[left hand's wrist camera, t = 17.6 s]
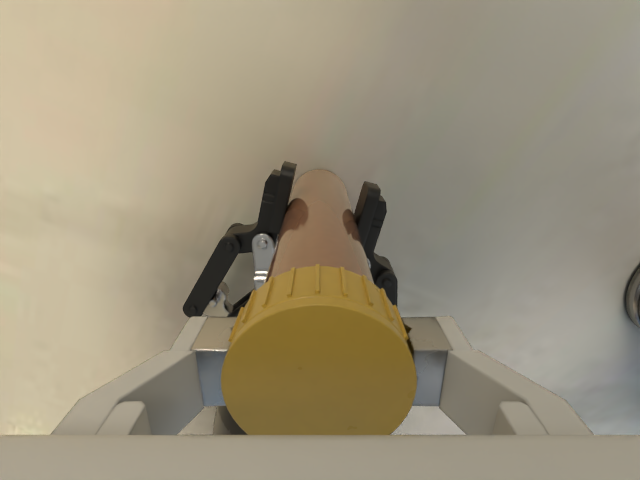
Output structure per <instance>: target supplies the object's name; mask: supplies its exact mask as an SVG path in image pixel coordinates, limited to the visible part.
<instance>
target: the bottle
mask: <svg viewBox="0 0 640 480" xmlns="http://www.w3.org/2000/svg"><path fill="white" fill-rule="evenodd" d="M316 264H320V266H329V267H335V268H340V267H344V269H345V270H348V271H351V272H353V273H356V274H358V275H360V276H363V275H365V276H367V280H369V281H371V282H372V283H373V284H375V283H374V280H373V277H372V273H371V270H370V267H369V263H368V260H367V257H366V254H365V250H364V247H363V244H362V240H361V237H360V234H359V231H358V227H357V224H356V221H355V217H354V214H353V211H352V208H351V204H350V201H349V198H348V194H347V191H346V188H345V185H344V183H343V182H342V180H341V179H340V178H339V177H338V176H337V175H336V174H334V173H332V172H330V171H327V170H322V169H316V170H311V171H309V172H306V173H305V174H303V175H302V176H301V177H300V178H299V179H298V180H297V181H296V183H295V185H294V187H293V190H292V193H291V197H290V200H289V203H288V207H287V210H286V213H285V216H284V219H283V222H282V226H281V229H280V232H279V235H278V239H277V242H276V245H275V248H274V252H273V255H272V258H271V261H270V265H269V268H268V271H267V274H266V277H265V281H264V284H265V283H266V282H268V280H269V278H270V277H271V276H273V277H276V276H278V275H280V274H282V273H285V272H288V271H291V268H293V267H295V269H298V268H303V267H310V266H316ZM264 284H263V285H264Z"/></svg>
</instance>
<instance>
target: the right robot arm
mask: <svg viewBox="0 0 640 480" xmlns="http://www.w3.org/2000/svg"><path fill="white" fill-rule="evenodd" d="M296 165H297V164H294V163H290V162H286V161H285V162H284V163H283V165H282V168H281V171H278V170H273V172H272V173H271V175H270V176H269V178H268V179H267V181H266V182H265V187H264V193H263V197H262V203H261V208H260V213H259V218H258V222H257V223H255V224H252V225H243V224H240V223H235V224H233V225H231V226H230V228H229V229H228V231H227V232H226V234H225V236H224V237H222V239H221V240H220V242H219V243H218V245H217V247H216V249H215V251H214V252H213V254H212V256H211V258H210V259H209V261H208V263H207V265H206V267H205V268H204V270H203V272H202V274H201V275H200V277H199V279H198V281H197V283H196V284H195V286H194V288H193V290H192V291H191V293H190V295H189V297H188V299H187V300H186V302H185V304H184V306H183V311H184V313H185V315H187V316H188V317H193V316H201V315H202V314H205V315H207V316H209V317H210V316H211V317H237V316H238V314H239V311H240V309H241V307H243V308H244V307H245V305H246V304H247V302H248V301H249V298H250V296H251V293H252V291H253V290H255V291H257V290H258V289H259V288H260V287H261V286H262V285H263V284H264V281H265V277H266V274H267V271H268V268H269V265H270V261H271V258H272V255H273V252H274V248H275V245H276V242H277V239H278V235H279V232H280V229H281V226H282V222H283V219H284V216H285V213H286V210H287V207H288V202H289V198H290V193H291V189H292V184H293V179H294V175H295V170H296ZM386 212H387V211H386V202H385V200H384V199H383V197H382V196H380V188H379V187H378V185H377V184H374V183H370V182H366V181H365V182H364V184H363V186H362V189H361V193H360V196H359V200H358V203H357V206H356V210H355V213H354V217H355V221H356V224H357V227H358V231H359V234H360V237H361V240H362V244H363V247H364V250H365V254H366V257H367V260H368V263H369V267H370V270H371V273H372V277H373V280H374V283H375V285H376V286H377V287H378V288H379V289H381V288H383V289H384V290H385V293H386V296H387V297H388V299H389V300H390V302H391V303H392V305H396V306H397V279H396V276H395V274H394V272H393V269H392V267H391V265H390V263H389V261H388V259H387V258H385V257H381V256H378V255H377V254H375V253H374V249H375V246H376V243H377V240H378V236H379V233H380V230H381V227H382V224H383V221H384V218H385V215H386ZM248 252H253V259H254V269H255V274H254V286H255V288H254V289H253V290H252V291H251V292H249V293H248V294H247V295H246V296H244V297H243V298H242V299H241V300H239V301H238V302H237V303H236V304H234V305H231V304H230V303H229V301H228V294H229V288H228V286H227V285H226V283H225V282H222V280H223V278H224V277H225V275H226V273H227V272H228V270H229V268H230V266H231V265H232V263H233V261H234V260H235V258H236V256H237V255H238V253H248ZM626 308H627V312H628V315H629V317H630V318H631V320H632V321H633V323H634V324H635V325H636V326H637V327H639V328H640V267H639V269H638V270H637V271H636V273H635V274H634V276H633V278H632V280H631V282H630V284H629V287H628V290H627V295H626ZM213 435H248V434H247V433H246V432H245V431H244V430H243V429H241V428H240V427H239V425H238V424H237V423H236V422H235V420H234V419H233V418H232V416H231V414H230V413H229V411H228V409H227V407H226V406H217V410H216V415H215V421H214V428H213Z"/></svg>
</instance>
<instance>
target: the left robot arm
mask: <svg viewBox="0 0 640 480" xmlns="http://www.w3.org/2000/svg"><path fill="white" fill-rule="evenodd" d="M236 319H237V317H211V316H210V317H208V316H193V317H190V318H189V319H188V321H187V323H186V324H185V326H184V328H183V329H182V331H181V332H180V334H179V336H178V337H177V339H176V341H175V342H174V344H173V345H172V347H171V349H170V350H168V351H162V352H161V353H159V354H157V355H156V356H154V357H152V358H150V359H149V360H147V361H145V362H143V363H142V364H140V365H138V366H136V367H135V368H133V369H131V370H129V371H128V372H126V373H124V374H123V375H121V376H119V377H117V378H116V379H114V380H112V381H110V382H109V383H107V384H105V385H103V386H102V387H100V388H98V389H96V390H95V391H93V392H91V393H90V394H88V395H86V396H84V397H83V398H81V399H79V400H78V401H77V403H76V404H75V405H74V406H73V407H72V409H71V410H70V411H69V412H68V414H67V415H66V416H65V417H64V418H63V420H62V421H61V422H60V423H59V425H58V426H57V427H56V428H55V429H54V431H53V432H52V433H51V434H50V435H0V480H640V435H594V434H593V433H592V431H591V430H590V429H589V428H588V427H587V425H586V424H585V423H584V422H583V421H582V419H581V418H580V417H579V416H578V415H577V413H576V412H575V411H574V410H573V408H572V407H571V406H570V405H569V404H568V402H567V401H566V400H565V399H563V398H561V397H559V396H558V395H556V394H554V393H552V392H551V391H549V390H547V389H545V388H544V387H542V386H540V385H538V384H537V383H535V382H533V381H531V380H530V379H528V378H526V377H524V376H523V375H521V374H519V373H517V372H516V371H514V370H512V369H510V368H509V367H507V366H505V365H503V364H502V363H500V362H498V361H496V360H495V359H493V358H491V357H489V356H488V355H486V354H484V353H482V352H481V351H475V350H473V348H472V347H471V345H470V344H469V342H468V341H467V339H466V337H465V336H464V334H463V333H462V331H461V330H460V328H459V326H458V325H457V323H456V322H455V320H454V319H453V317H451V316H440V317H408V318H401V319H402V322H403V325H404V327H405V330H406V333H407V335H408V338H409V339H407V344H408V346H409V349H410V352H411V355H412V357H413V360H414V363H415V367H416V373H417V388H416V394H415V398H414V401H413V404H412V406H439V408H440V409H441V410H442V411H443V412H444V413H445V414H446V415H447V416H448V417H449V418H450V419H451V420H452V421H453V422H454V423H455V424H456V425H457V426H458V427H459V428H460V429H461V430H462V431H463V432H464V433H465V434H466V435H177V434H178V433H179V432H180V431H181V430H182V429H183V428H184V427H185V426H186V425H187V424H188V423H189V422H190V421H191V420H192V419H193V418H194V417H195V416H196V415H197V414H198V413H199V412H200V411H201V410H202V409H203V408H204V407H203V406H226V404H225V402H224V398H223V394H222V390H221V372H222V367H223V363H224V359H225V357H226V354H227V351H228V349H229V346H230V343H231V342H229V341H228V340H229V337H230V334H231V332H232V329H233V327H234V324H235V321H236Z"/></svg>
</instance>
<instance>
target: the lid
mask: <svg viewBox="0 0 640 480" xmlns="http://www.w3.org/2000/svg"><path fill="white" fill-rule="evenodd" d="M407 339H409V338H408V335H407V333H406V330H405V327H404V325H403V322H402V319H401V317H400V314H399V311H398V309H397V306H396V305H392V303H391V302H390V300H389V299H388V297H387V296H386V293H385V290H384V289H383V288H381V289H379V288H378V287H377V286H376V285H375V284H373V283H372V282H371V281H369V280H367V276H365V275H363V276H360V275H358V274H356V273H353V272H351V271H348V270H345V269H344V267H340V268H335V267H329V266H320V264H316V266H310V267H303V268H298V269H295V267H293V268H291V271H288V272H285V273H282V274H280V275H278V276H276V277H273V276H271V277H270V278H269V280H268V282H266V283H265V284H264V285H262V286H261V287H260V288H259V289H258V290H257V291H255V290H253V291H252V293H251V296H250V298H249V301H248V302H247V304H246V305H245V307H244V308H243V307H241V309H240V311H239V314H238V316H237V319H236V321H235V324H234V327H233V329H232V332H231V334H230V337H229V340H228V341H229V342H231V343H230V346H229V349H228V351H227V354H226V357H225V359H224V363H223V367H222V372H221V390H222V394H223V398H224V402H225V404H226V407H227V409H228V411H229V413H230V414H231V416H232V418H233V419H234V420H235V422H236V423H237V424H238V425H239V427H240V428H241V429H243V430H244V431H245V432H246V433H247V434H248V435H390V434H391V433H392V432H394V431H395V429H396V428H397V427H398V426H399V425H400V424H401V423H402V422H403V420H404V419H405V418H406V416H407V414H408V413H409V411H410V409H411V407H412V404H413V401H414V398H415V394H416V388H417V373H416V367H415V363H414V360H413V357H412V355H411V352H410V349H409V346H408V344H407Z"/></svg>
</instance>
